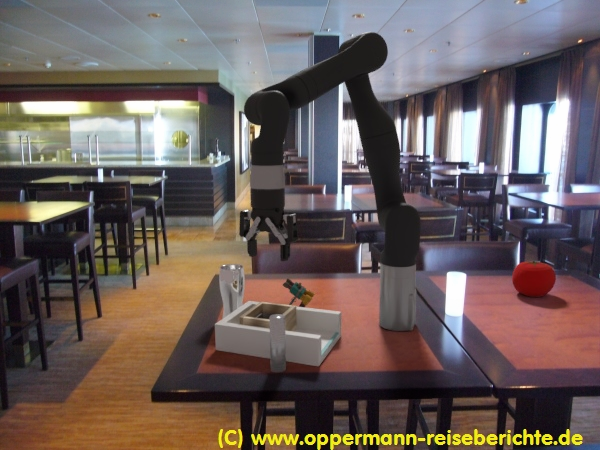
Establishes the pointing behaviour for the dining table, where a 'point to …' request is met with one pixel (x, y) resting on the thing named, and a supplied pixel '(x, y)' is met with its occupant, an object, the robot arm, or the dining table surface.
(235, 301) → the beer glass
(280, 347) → the handle peg
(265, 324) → the box
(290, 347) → the bay
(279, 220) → the robot arm
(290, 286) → the binoculars
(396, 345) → the dining table surface
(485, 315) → the dining table surface
